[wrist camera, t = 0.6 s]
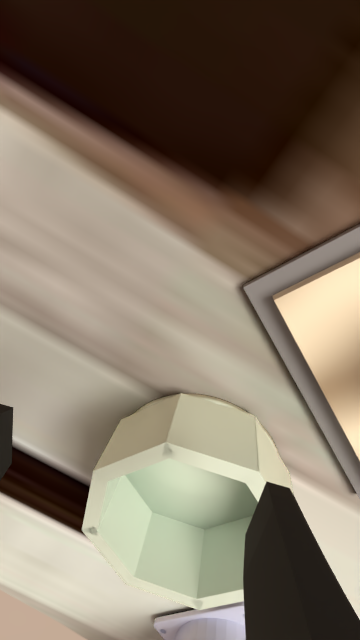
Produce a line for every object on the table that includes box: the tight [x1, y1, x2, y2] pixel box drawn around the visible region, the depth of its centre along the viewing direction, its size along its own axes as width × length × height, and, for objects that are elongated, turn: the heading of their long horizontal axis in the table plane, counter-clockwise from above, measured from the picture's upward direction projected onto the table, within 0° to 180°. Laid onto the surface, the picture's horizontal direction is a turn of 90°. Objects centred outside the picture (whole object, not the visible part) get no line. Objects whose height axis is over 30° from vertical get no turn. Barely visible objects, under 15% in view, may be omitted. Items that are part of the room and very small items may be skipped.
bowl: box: [82, 393, 294, 610], centre depth 18 cm, size 10×10×5 cm
